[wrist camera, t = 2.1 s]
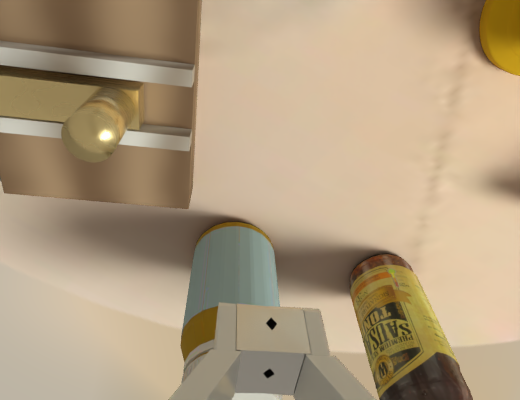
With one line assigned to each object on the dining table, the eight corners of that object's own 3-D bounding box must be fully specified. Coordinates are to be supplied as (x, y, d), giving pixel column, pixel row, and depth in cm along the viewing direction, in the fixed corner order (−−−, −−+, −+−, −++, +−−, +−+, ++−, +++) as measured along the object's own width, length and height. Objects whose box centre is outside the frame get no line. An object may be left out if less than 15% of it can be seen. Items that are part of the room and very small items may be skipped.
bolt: (143, 81, 24) (118, 117, 19) (144, 121, 26) (121, 165, 21) (-14, 63, 23) (-84, 95, 18) (-4, 105, 25) (-67, 147, 20)
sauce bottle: (369, 241, 36) (478, 498, 19) (424, 262, 38) (569, 515, 21) (332, 290, 39) (399, 546, 23) (385, 307, 41) (484, 558, 24)
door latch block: (203, -40, 24) (192, -36, 19) (192, 188, 32) (183, 236, 27) (-165, -96, 22) (-295, -109, 17) (-74, 163, 30) (-141, 210, 25)
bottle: (178, 245, 36) (144, 411, 23) (239, 203, 33) (238, 361, 21) (230, 288, 39) (224, 456, 26) (288, 252, 36) (313, 416, 24)
